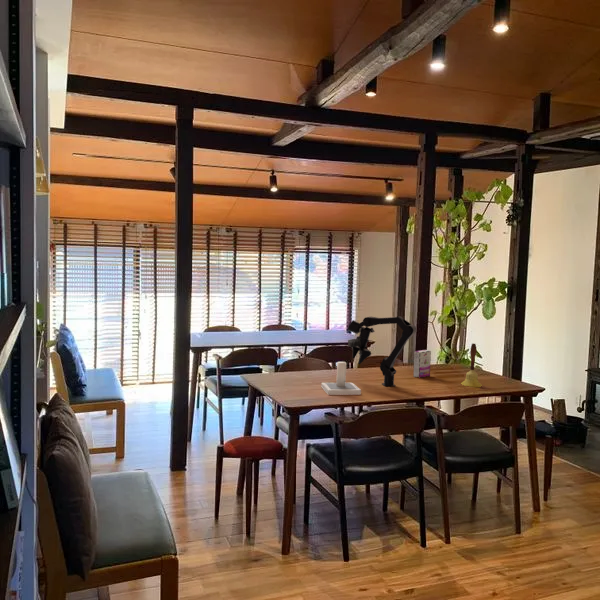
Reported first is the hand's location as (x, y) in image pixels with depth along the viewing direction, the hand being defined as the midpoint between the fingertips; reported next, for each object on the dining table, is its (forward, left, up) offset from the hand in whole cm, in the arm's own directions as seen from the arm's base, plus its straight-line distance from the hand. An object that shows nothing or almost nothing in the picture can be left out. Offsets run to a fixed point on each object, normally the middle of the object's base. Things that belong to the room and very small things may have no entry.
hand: (356, 361), depth 336 cm
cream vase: (-26, +15, -9) cm, 31 cm away
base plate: (-26, +15, -12) cm, 32 cm away
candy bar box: (+12, -47, -12) cm, 50 cm away
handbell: (-12, -69, -12) cm, 71 cm away
